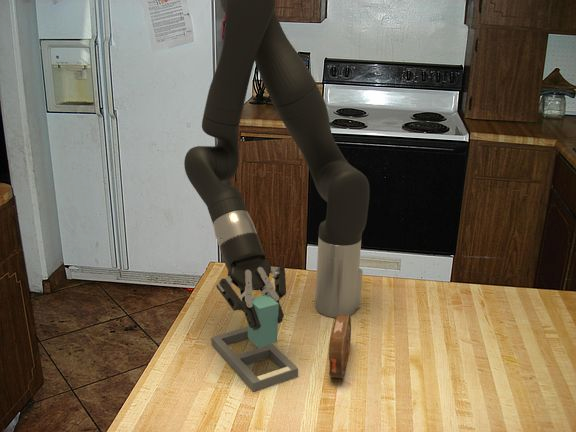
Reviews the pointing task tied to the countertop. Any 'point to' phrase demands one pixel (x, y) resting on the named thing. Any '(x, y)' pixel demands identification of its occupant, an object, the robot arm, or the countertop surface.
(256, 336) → the block
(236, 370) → the frame
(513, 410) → the countertop surface
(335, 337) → the tin
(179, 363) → the countertop surface
